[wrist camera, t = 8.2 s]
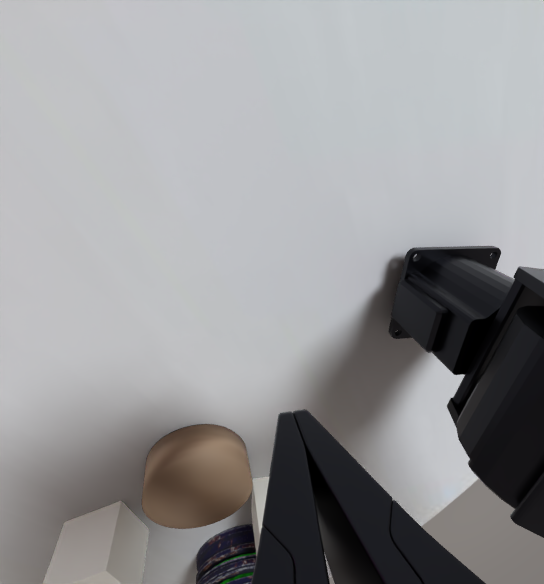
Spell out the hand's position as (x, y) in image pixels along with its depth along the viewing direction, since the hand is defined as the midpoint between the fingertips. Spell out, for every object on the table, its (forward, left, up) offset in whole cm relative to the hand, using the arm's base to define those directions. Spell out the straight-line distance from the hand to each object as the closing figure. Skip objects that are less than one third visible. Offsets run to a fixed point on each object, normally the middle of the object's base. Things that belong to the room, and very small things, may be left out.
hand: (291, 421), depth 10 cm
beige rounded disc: (+4, +17, -12) cm, 21 cm away
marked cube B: (+12, +24, -12) cm, 29 cm away
